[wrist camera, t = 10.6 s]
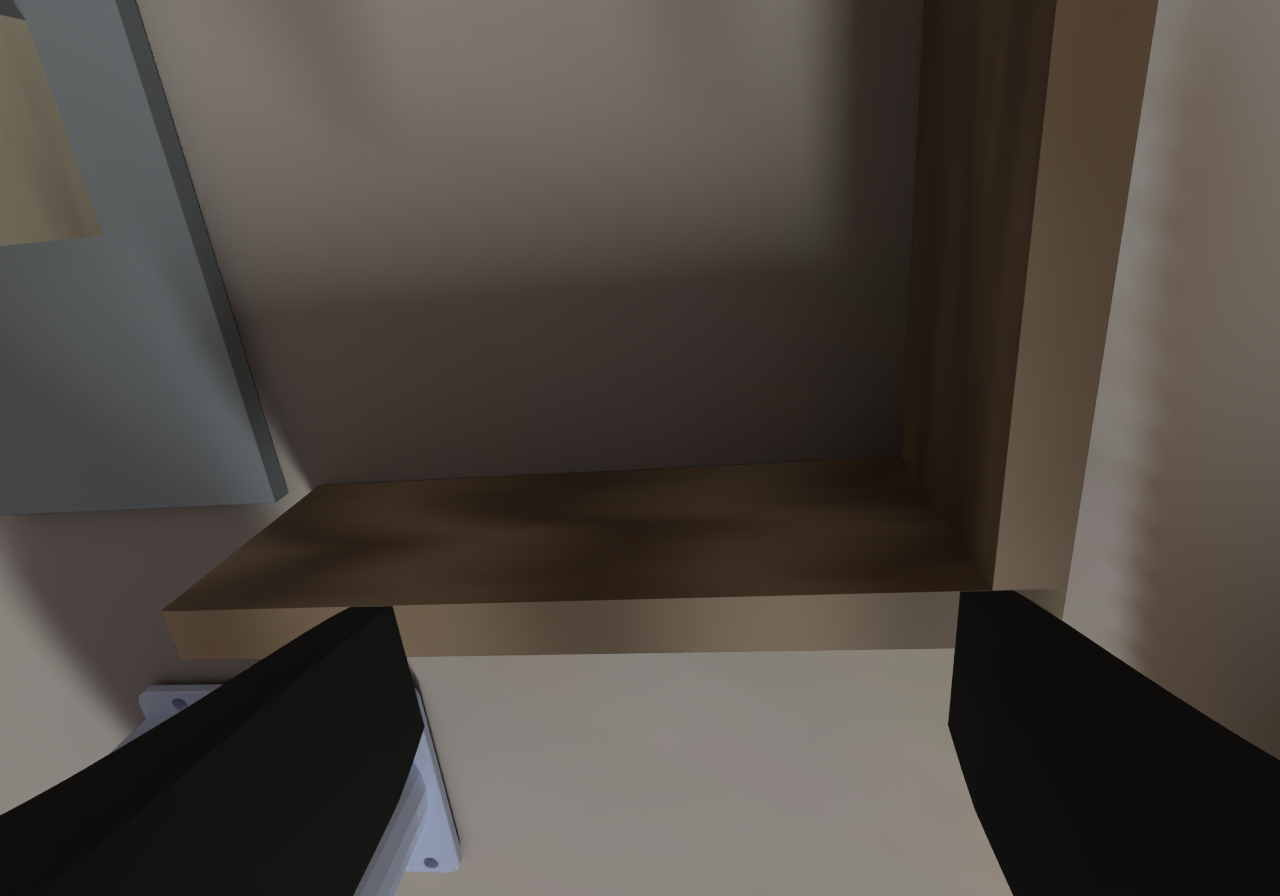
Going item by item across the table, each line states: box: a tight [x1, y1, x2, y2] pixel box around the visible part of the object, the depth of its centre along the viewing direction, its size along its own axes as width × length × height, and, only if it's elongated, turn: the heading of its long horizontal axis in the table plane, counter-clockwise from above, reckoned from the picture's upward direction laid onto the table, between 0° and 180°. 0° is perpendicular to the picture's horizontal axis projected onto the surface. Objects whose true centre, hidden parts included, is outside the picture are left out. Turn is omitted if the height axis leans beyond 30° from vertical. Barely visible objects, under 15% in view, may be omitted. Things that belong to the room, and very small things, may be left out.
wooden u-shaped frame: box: [161, 0, 1158, 660], centre depth 12 cm, size 17×21×6 cm
